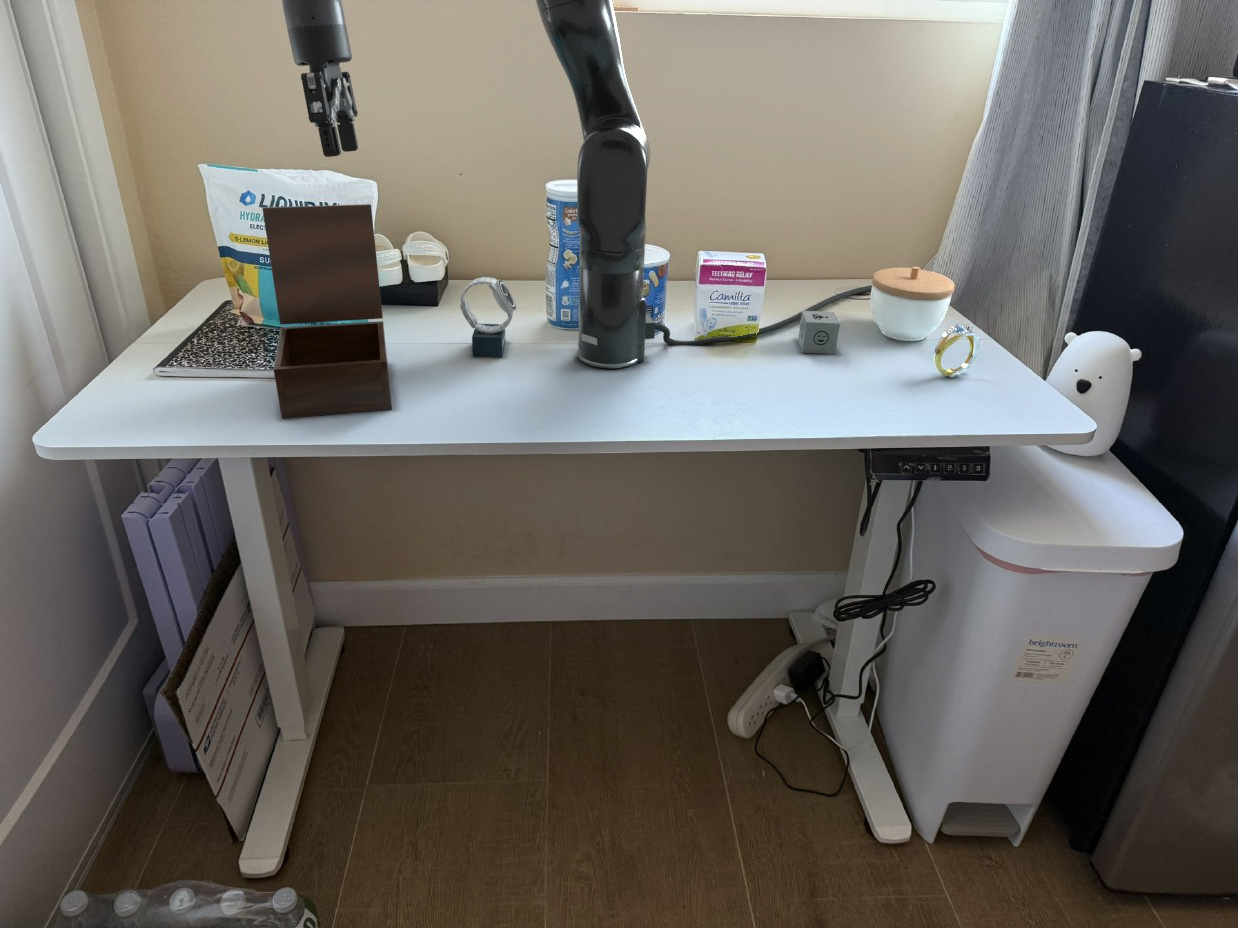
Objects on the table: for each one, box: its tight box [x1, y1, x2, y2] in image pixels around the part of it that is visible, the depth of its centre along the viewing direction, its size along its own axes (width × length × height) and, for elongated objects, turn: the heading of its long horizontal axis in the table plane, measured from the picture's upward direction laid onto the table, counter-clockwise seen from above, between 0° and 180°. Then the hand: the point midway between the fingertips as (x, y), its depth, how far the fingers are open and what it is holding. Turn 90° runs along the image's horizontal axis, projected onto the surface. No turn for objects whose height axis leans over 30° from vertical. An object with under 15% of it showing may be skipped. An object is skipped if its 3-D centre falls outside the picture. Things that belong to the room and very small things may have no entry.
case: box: [273, 320, 393, 419], centre depth 120 cm, size 15×14×7 cm
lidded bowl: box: [869, 266, 956, 342], centre depth 144 cm, size 13×13×11 cm
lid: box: [262, 203, 384, 325], centre depth 123 cm, size 15×14×6 cm
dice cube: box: [797, 310, 841, 355], centre depth 139 cm, size 5×5×5 cm
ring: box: [932, 322, 980, 378], centre depth 130 cm, size 7×3×8 cm, turn 104°
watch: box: [459, 276, 517, 358], centre depth 132 cm, size 6×8×11 cm
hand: (342, 153), depth 125 cm, fingers open, 8 cm apart
